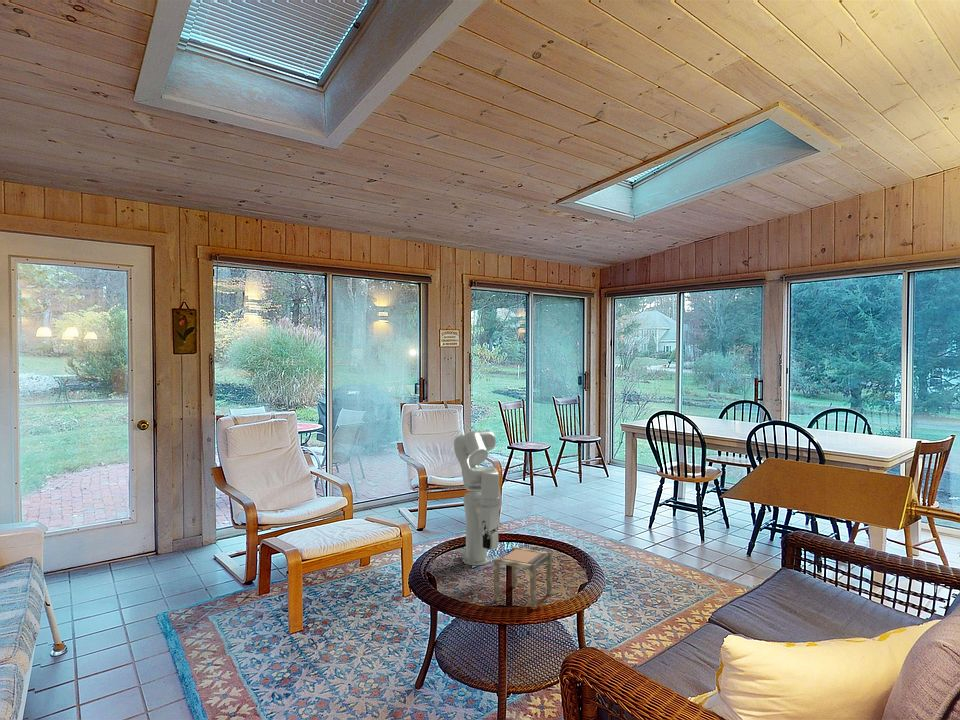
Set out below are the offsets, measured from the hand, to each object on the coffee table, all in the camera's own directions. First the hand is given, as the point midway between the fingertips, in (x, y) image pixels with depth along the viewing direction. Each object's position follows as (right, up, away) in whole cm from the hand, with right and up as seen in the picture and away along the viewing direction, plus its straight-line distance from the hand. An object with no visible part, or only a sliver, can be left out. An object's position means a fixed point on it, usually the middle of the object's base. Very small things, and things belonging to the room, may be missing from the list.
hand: (490, 545), depth 218 cm
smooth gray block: (0, -1, 0) cm, 1 cm away
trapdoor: (+12, 0, -16) cm, 20 cm away
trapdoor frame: (+12, -14, -16) cm, 25 cm away
